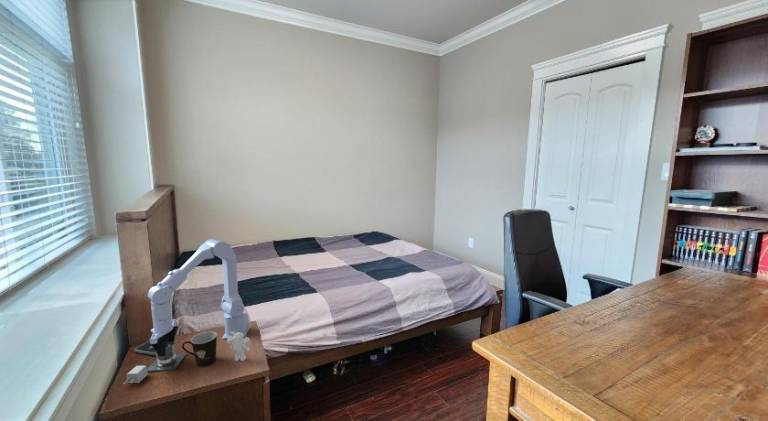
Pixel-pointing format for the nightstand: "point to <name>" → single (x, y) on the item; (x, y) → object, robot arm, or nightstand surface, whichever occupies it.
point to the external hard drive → (146, 349)
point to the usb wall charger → (136, 374)
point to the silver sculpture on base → (167, 363)
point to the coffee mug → (203, 348)
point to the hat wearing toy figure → (238, 345)
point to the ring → (168, 351)
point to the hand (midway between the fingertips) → (166, 351)
